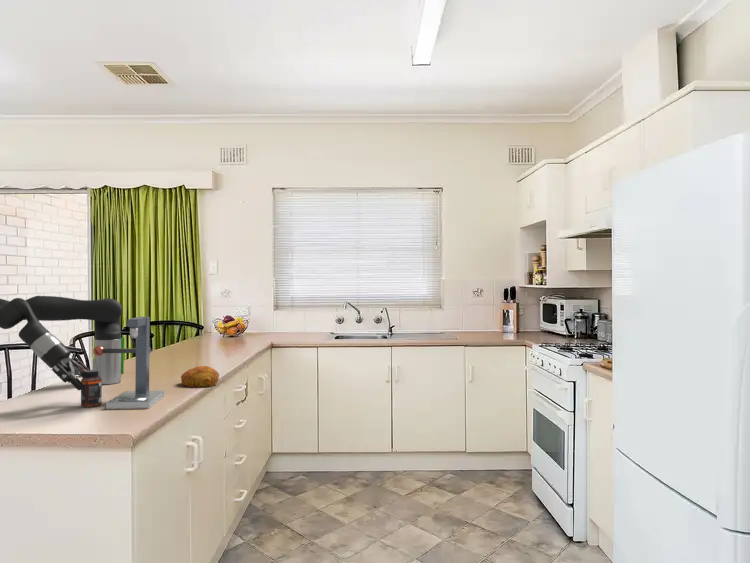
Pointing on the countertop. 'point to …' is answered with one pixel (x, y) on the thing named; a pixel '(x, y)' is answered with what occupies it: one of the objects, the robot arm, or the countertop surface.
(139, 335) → the press
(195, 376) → the croissant
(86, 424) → the countertop surface
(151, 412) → the countertop surface
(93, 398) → the supplement bottle
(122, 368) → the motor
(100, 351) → the lever
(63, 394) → the countertop surface
